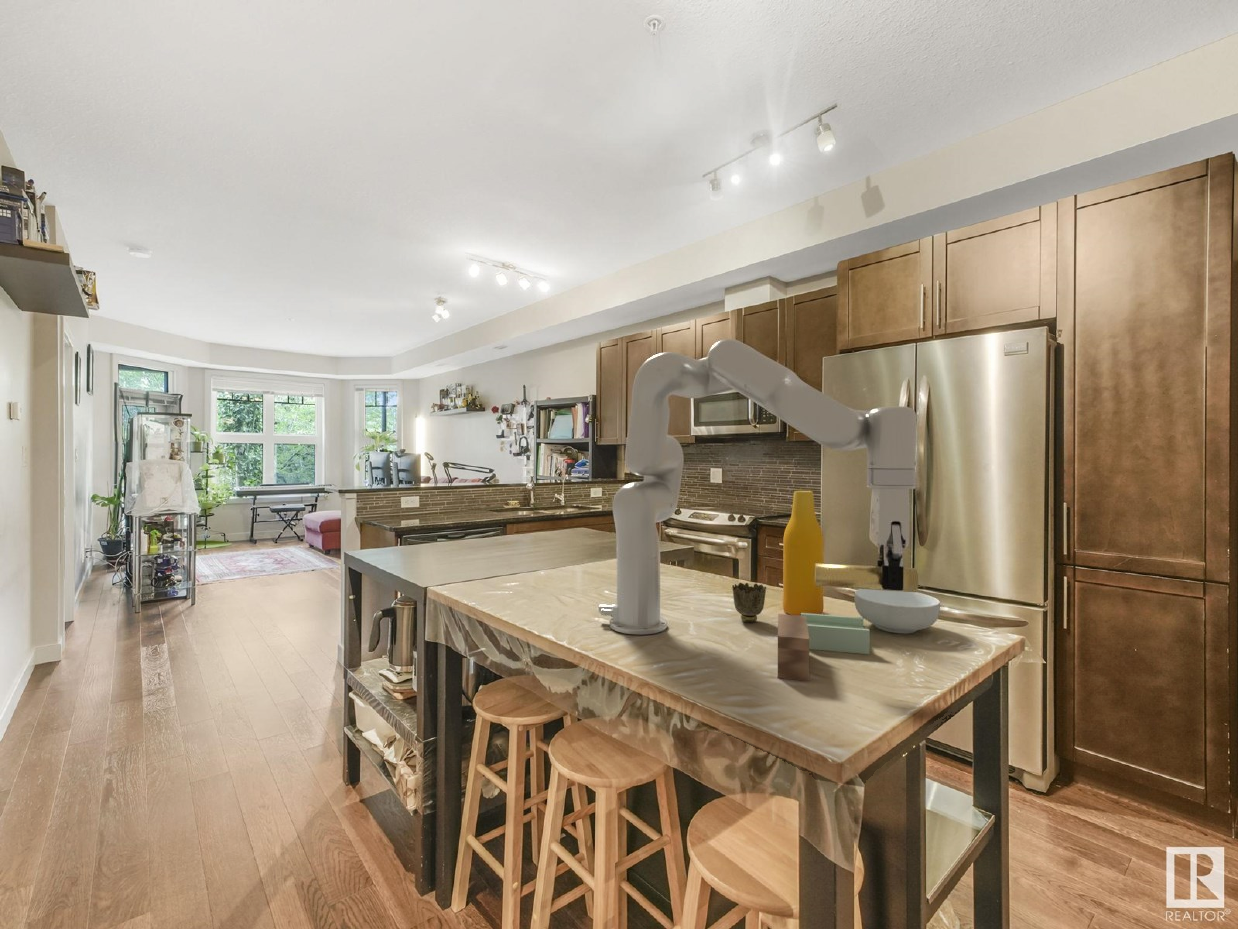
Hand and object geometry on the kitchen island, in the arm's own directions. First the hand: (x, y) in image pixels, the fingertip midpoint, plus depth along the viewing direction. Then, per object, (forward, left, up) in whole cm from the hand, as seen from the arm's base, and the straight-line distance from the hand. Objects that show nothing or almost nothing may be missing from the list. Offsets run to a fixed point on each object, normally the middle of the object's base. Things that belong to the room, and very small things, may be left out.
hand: (889, 585), depth 96 cm
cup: (-25, +25, -15) cm, 38 cm away
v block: (-8, +14, -15) cm, 22 cm away
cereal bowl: (+6, +29, -15) cm, 33 cm away
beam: (-16, 0, -15) cm, 22 cm away
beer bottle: (-13, +36, -15) cm, 41 cm away
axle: (-4, 0, +1) cm, 4 cm away
